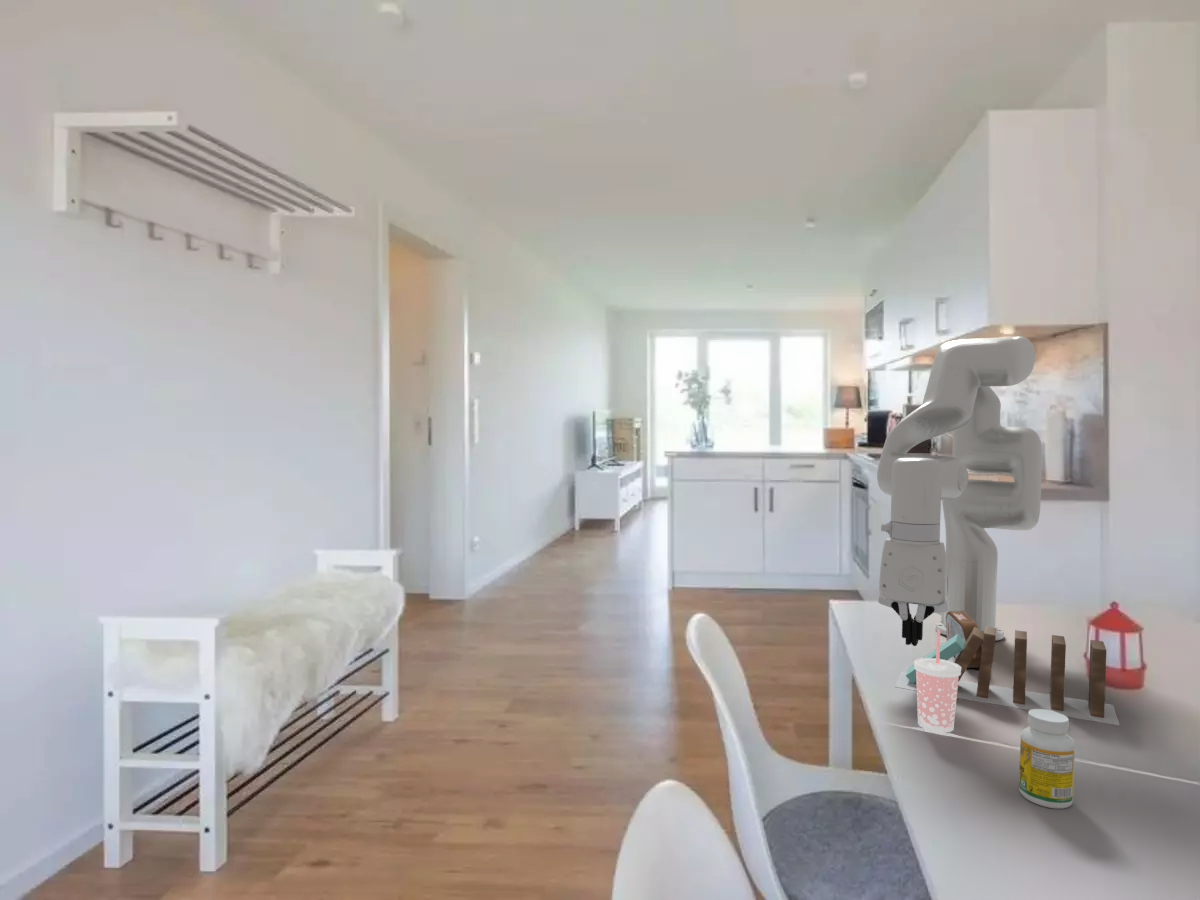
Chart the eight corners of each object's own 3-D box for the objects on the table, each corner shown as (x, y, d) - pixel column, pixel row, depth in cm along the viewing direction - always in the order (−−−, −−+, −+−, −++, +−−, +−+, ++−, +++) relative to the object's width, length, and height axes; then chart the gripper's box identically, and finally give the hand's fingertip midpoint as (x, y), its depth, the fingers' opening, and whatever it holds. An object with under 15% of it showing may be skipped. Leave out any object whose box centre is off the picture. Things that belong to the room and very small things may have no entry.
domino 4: (1012, 702, 114) (1014, 637, 114) (1013, 692, 119) (1015, 630, 118) (1024, 704, 113) (1026, 639, 113) (1024, 694, 118) (1026, 631, 117)
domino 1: (905, 675, 123) (955, 641, 119) (909, 667, 127) (958, 633, 123) (912, 684, 122) (963, 649, 118) (916, 675, 126) (965, 641, 123)
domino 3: (976, 695, 117) (984, 633, 116) (977, 686, 121) (985, 625, 120) (987, 698, 116) (995, 635, 115) (988, 688, 120) (996, 628, 120)
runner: (894, 688, 121) (894, 686, 121) (902, 672, 129) (902, 670, 129) (1119, 727, 106) (1119, 725, 106) (1112, 706, 114) (1112, 704, 114)
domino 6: (1090, 715, 109) (1093, 648, 109) (1088, 704, 114) (1090, 639, 113) (1104, 718, 109) (1106, 649, 108) (1100, 706, 113) (1103, 641, 113)
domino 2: (942, 686, 119) (973, 633, 117) (945, 677, 123) (974, 626, 121) (952, 692, 118) (983, 639, 116) (954, 683, 123) (984, 631, 120)
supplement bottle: (1068, 815, 82) (1071, 728, 81) (1013, 799, 85) (1016, 716, 85) (1076, 796, 86) (1079, 714, 86) (1023, 782, 89) (1026, 702, 89)
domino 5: (1050, 709, 112) (1053, 642, 111) (1049, 698, 116) (1051, 634, 116) (1063, 711, 111) (1065, 644, 111) (1061, 700, 115) (1064, 636, 115)
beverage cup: (939, 739, 101) (942, 637, 101) (902, 723, 107) (905, 626, 106) (969, 731, 104) (972, 632, 103) (931, 716, 109) (934, 621, 109)
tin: (984, 675, 128) (985, 626, 127) (964, 674, 128) (965, 625, 128) (960, 649, 143) (961, 605, 142) (942, 648, 143) (943, 604, 143)
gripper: (863, 531, 123) (860, 642, 124) (963, 539, 116) (960, 656, 117) (871, 526, 130) (868, 631, 130) (967, 533, 122) (963, 644, 123)
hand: (912, 643), depth 123 cm, fingers closed
